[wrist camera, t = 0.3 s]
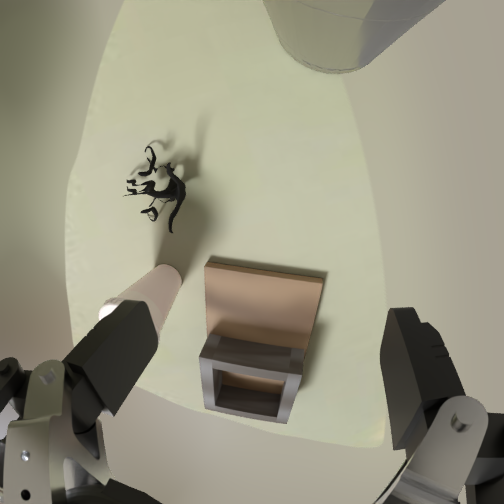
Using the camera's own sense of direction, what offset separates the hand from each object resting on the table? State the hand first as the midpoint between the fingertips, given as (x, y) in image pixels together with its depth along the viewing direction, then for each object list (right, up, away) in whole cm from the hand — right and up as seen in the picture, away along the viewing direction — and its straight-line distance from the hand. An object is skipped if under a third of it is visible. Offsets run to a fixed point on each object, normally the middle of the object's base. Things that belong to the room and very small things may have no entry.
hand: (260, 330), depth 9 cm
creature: (-9, +9, +19) cm, 23 cm away
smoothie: (-10, 0, +23) cm, 26 cm away
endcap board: (0, -9, +25) cm, 27 cm away
